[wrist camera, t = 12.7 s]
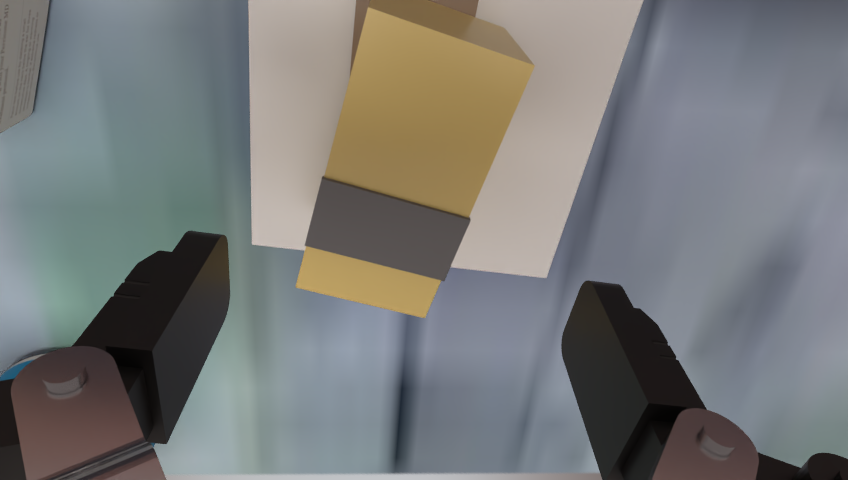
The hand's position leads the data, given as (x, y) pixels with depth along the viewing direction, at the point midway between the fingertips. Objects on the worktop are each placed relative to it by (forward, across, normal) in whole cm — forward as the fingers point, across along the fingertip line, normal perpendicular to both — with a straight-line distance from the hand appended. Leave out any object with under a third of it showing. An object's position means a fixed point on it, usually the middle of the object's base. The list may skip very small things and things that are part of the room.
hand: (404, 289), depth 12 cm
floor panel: (+10, -1, 0) cm, 10 cm away
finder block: (+10, 0, 0) cm, 10 cm away
